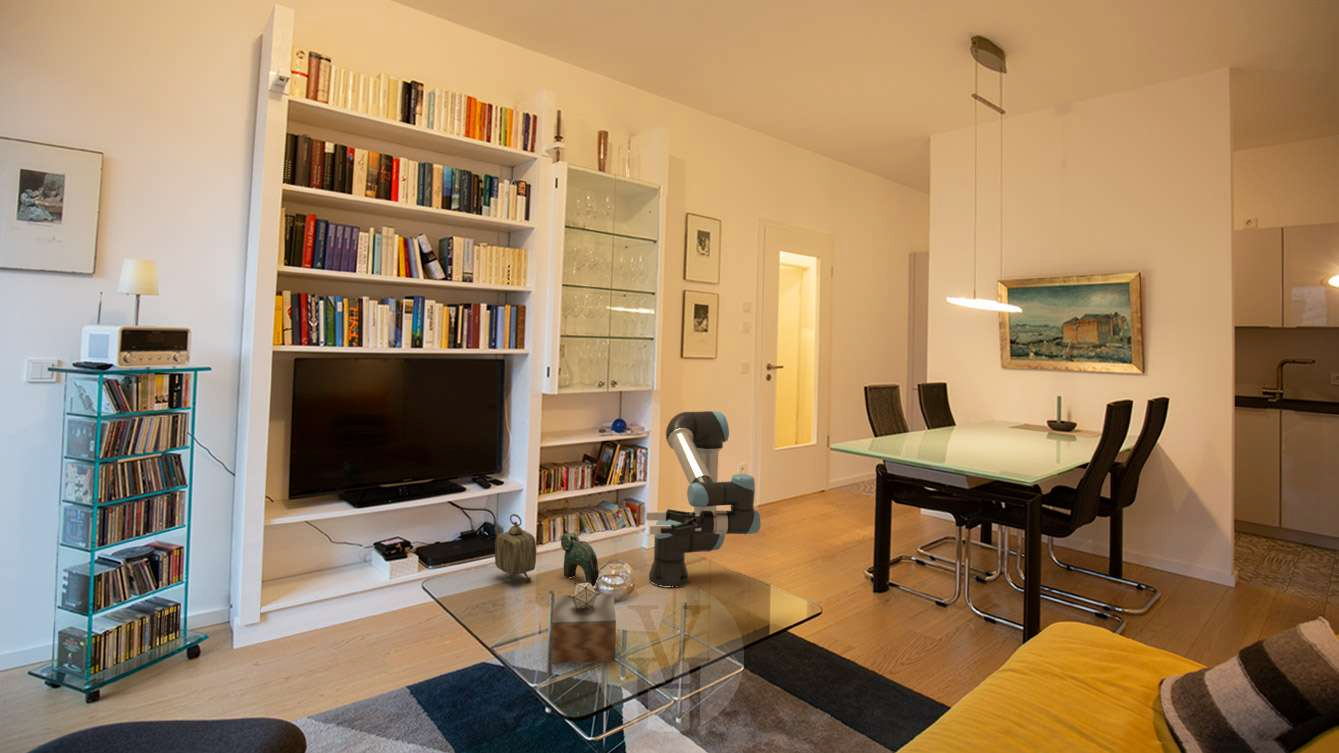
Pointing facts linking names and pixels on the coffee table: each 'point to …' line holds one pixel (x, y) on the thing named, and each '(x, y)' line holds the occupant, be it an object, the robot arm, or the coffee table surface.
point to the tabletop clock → (515, 551)
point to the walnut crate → (583, 630)
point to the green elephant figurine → (579, 557)
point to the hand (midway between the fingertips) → (648, 522)
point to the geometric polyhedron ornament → (583, 595)
